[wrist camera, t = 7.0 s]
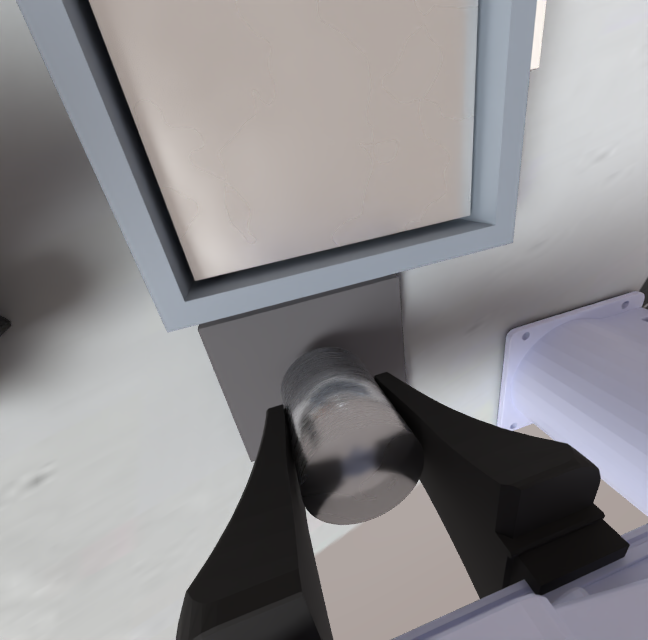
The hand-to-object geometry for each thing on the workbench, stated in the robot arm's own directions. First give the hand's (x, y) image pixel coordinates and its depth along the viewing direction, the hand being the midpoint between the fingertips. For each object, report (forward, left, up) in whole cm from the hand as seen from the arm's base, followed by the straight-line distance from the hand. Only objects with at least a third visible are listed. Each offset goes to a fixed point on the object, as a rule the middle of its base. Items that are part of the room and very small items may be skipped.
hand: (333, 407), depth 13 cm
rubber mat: (0, 0, -3) cm, 3 cm away
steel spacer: (0, 0, -1) cm, 1 cm away
